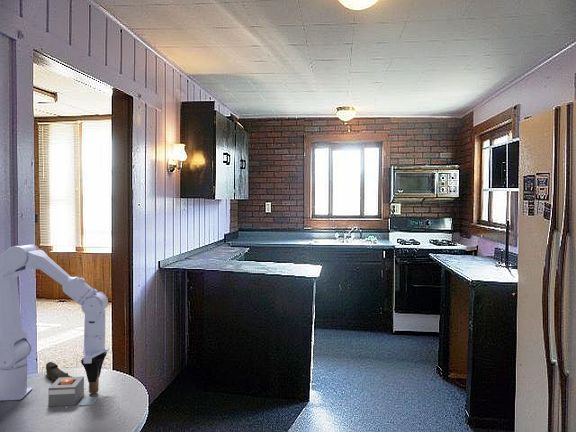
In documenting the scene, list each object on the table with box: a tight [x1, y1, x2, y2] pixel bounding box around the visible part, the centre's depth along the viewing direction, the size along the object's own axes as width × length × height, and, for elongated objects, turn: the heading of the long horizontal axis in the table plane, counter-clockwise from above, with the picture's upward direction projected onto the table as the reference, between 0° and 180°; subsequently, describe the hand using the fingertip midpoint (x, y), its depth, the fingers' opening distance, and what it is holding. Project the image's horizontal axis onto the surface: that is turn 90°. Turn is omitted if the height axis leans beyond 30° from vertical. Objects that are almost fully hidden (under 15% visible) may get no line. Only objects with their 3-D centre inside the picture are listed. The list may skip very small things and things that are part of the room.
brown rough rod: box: [45, 361, 73, 382], centre depth 140 cm, size 19×4×5 cm, turn 45°
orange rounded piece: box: [61, 378, 73, 385], centre depth 126 cm, size 3×3×2 cm
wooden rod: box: [88, 371, 100, 394], centre depth 131 cm, size 3×3×9 cm
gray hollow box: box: [47, 376, 85, 407], centre depth 126 cm, size 7×8×5 cm
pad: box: [77, 396, 99, 407], centre depth 125 cm, size 4×5×1 cm
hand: (93, 379), depth 131 cm, fingers closed on wooden rod, 3 cm apart
